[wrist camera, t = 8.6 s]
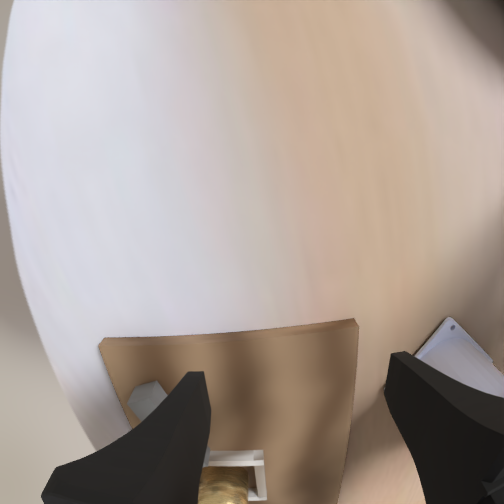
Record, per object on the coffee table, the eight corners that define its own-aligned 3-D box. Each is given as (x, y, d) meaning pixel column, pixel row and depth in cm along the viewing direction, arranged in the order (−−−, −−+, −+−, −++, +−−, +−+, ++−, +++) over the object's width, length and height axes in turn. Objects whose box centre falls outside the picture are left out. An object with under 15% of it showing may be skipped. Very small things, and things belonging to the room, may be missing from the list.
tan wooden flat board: (353, 318, 21) (370, 344, 17) (332, 509, 28) (337, 531, 24) (104, 337, 21) (84, 363, 18) (188, 517, 28) (184, 538, 25)
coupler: (202, 456, 23) (192, 520, 16) (252, 462, 23) (252, 527, 16) (199, 484, 24) (191, 541, 17) (244, 489, 24) (243, 546, 18)
